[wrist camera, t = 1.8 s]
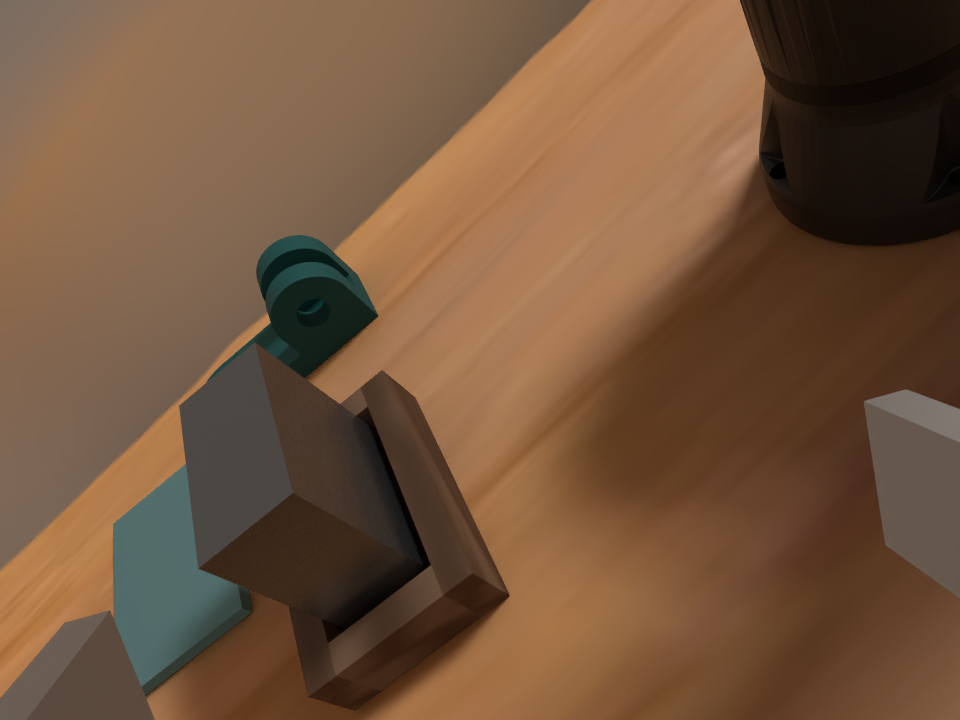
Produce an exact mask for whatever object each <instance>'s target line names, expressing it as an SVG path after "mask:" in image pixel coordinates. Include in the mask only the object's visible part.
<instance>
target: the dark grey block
mask: <svg viewBox="0 0 960 720" xmlns="http://www.w3.org/2000/svg"><path fill="white" fill-rule="evenodd" d="M179 407H180V416H181V424H182V433H183V442H184V450H185V459H186V468H187V476H188V485H189V494H190V502H191V511H192V519H193V528H194V537H195V545H196V554H197V563H198V569H200V570H203V571H205V572H207V573H210V574H212V575H215V576H217V577H220V578H222V579H225V580H227V581H230V582H232V583H234V584H237V585H239V586H242V587H244V588H247V589H249V590H252V591H254V592H257V593H259V594H261V595H264V596H266V597H269V598H271V599H274V600H276V601H279V602H281V603H284V604H286V605H288V606H291V607H293V608H296V609H298V610H301V611H303V612H306V613H308V614H311V615H313V616H315V617H318V618H320V619H323V620H325V621H328V622H330V623H333V624H335V625H338V626H340V627H343V628H345V629H348V628H349V627H350V626H352V625H353V624H354V623H356V622H357V621H358V620H360V619H361V618H362V617H364V616H365V615H366V614H368V613H369V612H370V611H371V610H373V609H374V608H375V607H377V606H378V605H379V604H381V603H382V602H383V601H385V600H386V599H387V598H389V597H390V596H391V595H392V594H394V593H395V592H396V591H398V590H399V589H400V588H402V587H403V586H404V585H406V584H407V583H408V582H410V581H411V580H412V579H413V578H415V577H416V576H417V575H419V574H420V573H421V572H423V571H424V570H425V569H427V568H428V567H429V566H431V564H430V561H429V559H428V556H427V554H426V551H425V549H424V546H423V544H422V541H421V539H420V536H419V534H418V531H417V529H416V526H415V524H414V521H413V519H412V516H411V514H410V511H409V509H408V506H407V504H406V501H405V499H404V496H403V494H402V491H401V489H400V486H399V484H398V481H397V479H396V476H395V474H394V471H393V469H392V466H391V464H390V461H389V459H388V456H387V454H386V451H385V448H384V446H383V443H382V441H381V438H380V436H379V433H378V432H377V431H376V430H375V429H373V428H372V427H371V426H369V425H368V424H366V423H365V422H364V421H362V420H361V419H360V418H358V417H357V416H355V415H354V414H353V413H351V412H350V411H349V410H347V409H346V408H344V407H343V406H342V405H340V404H339V403H338V402H336V401H335V400H333V399H332V398H331V397H329V396H328V395H327V394H325V393H324V392H323V391H321V390H320V389H318V388H317V387H316V386H314V385H313V384H312V383H310V382H309V381H307V380H306V379H305V378H303V377H302V376H301V375H299V374H298V373H296V372H295V371H294V370H292V369H291V368H290V367H288V366H287V365H285V364H284V363H283V362H281V361H280V360H279V359H277V358H276V357H274V356H273V355H272V354H270V353H269V352H268V351H266V350H265V349H263V348H262V347H261V346H259V345H258V344H257V343H255V342H254V343H253V344H252V345H251V346H250V347H249V348H247V349H246V350H245V351H244V352H243V353H241V354H240V355H239V356H238V357H237V358H235V359H234V360H233V361H232V362H231V363H230V364H228V365H227V366H226V367H225V368H224V369H222V370H221V371H220V372H219V373H218V374H216V375H215V376H214V377H213V378H212V379H210V380H209V381H208V382H207V383H206V384H205V385H203V386H202V387H201V388H200V389H199V390H197V391H196V392H195V393H194V394H193V395H191V396H190V397H189V398H188V399H187V400H185V401H184V402H183V403H182V404H181V405H180V406H179Z"/></svg>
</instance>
